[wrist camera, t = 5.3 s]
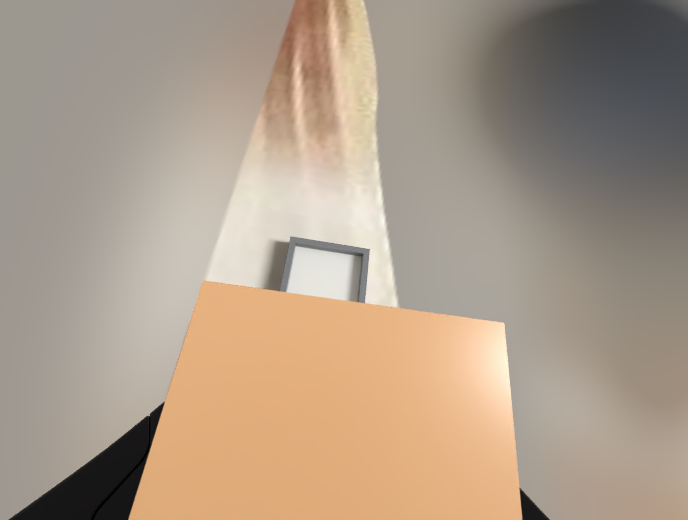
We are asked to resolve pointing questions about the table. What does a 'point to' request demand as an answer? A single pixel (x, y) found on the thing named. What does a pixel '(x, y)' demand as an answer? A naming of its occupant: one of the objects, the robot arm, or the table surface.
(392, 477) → the block
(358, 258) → the organiser
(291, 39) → the table surface
